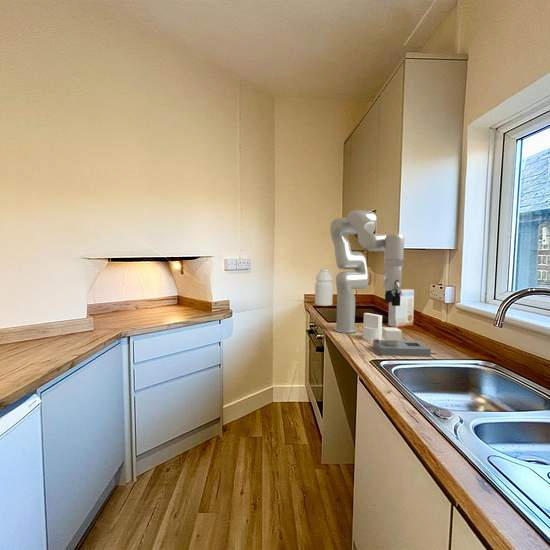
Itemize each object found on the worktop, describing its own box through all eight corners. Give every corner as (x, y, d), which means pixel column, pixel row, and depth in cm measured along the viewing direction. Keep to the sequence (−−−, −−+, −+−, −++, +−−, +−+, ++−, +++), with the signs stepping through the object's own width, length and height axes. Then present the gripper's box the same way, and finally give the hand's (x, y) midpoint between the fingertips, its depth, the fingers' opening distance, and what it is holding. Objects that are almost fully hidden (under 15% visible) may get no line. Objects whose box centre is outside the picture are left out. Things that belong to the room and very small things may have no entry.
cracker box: (405, 323, 200) (406, 288, 198) (413, 325, 194) (415, 289, 192) (387, 325, 193) (388, 289, 192) (395, 327, 188) (396, 290, 186)
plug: (381, 341, 148) (382, 327, 147) (396, 342, 148) (396, 327, 147) (386, 346, 142) (386, 330, 141) (401, 346, 141) (402, 331, 141)
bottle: (312, 303, 270) (312, 268, 268) (328, 302, 273) (329, 268, 271) (318, 306, 256) (319, 269, 254) (335, 305, 260) (336, 269, 258)
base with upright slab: (358, 338, 165) (359, 314, 164) (370, 335, 171) (370, 312, 170) (374, 342, 158) (374, 317, 157) (385, 339, 164) (386, 315, 163)
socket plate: (372, 346, 152) (373, 338, 151) (417, 347, 151) (418, 338, 151) (381, 355, 139) (381, 346, 138) (430, 356, 138) (431, 347, 138)
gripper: (379, 262, 150) (377, 300, 152) (390, 264, 133) (389, 307, 135) (396, 262, 150) (394, 300, 151) (410, 264, 133) (408, 307, 134)
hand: (392, 303), depth 143 cm, fingers open, 9 cm apart
